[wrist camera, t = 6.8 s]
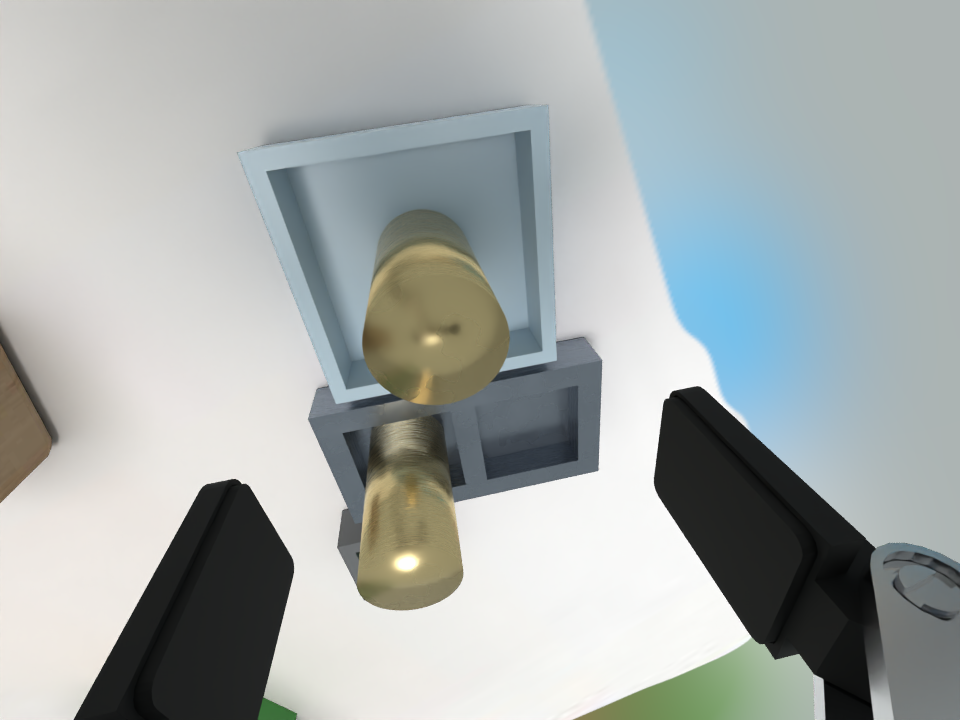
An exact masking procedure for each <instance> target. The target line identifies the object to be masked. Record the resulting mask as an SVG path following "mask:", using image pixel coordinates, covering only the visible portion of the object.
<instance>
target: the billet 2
mask: <svg viewBox="0 0 960 720" xmlns="http://www.w3.org/2000/svg"><path fill="white" fill-rule="evenodd" d="M462 578H463V566H462V559H461V551H460V544H459V536H458V529H457V522H456V514H455V507H454V500H453V492H452V485H451V477H450V470H449V463H448V455H447V448H446V440H445V433H444V430H443V427H442V425H441V424H440V423H439V422H438V421H437V420H436V419H435V418H434V417H432V416H431V415H429V416H424V417H419V418H414V419H409V420H405V421H400V422H395V423H390V424H385V425H380V426H375V427H374V428H373V430H372V432H371V436H370V446H369V457H368V468H367V479H366V490H365V501H364V512H363V522H362V533H361V544H360V555H359V566H358V577H357V589H358V591H359V593H360V595H361V596H362V597H363V598H364V599H365V600H366V601H367V602H369V603H370V604H372V605H375V606H377V607H380V608H384V609H389V610H413V609H419V608H423V607H427V606H430V605H433V604H435V603H438V602H440V601H442V600H443V599H445V598H447V597H448V596H450V595H451V594H452V593H453V592H454V591H455V590H456V589H457V588H458V586H459V585H460V583H461V581H462Z"/></svg>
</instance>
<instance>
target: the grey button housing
mask: <svg viewBox="0 0 960 720" xmlns="http://www.w3.org/2000/svg"><path fill="white" fill-rule="evenodd" d="M361 533H362V523H357V524H355V522H354V520H353V518H352V516H351V513H350V511H349V509H347V510H343V511H342V518H341V525H340V532H339V539H338V546H337V548H338V550H339V552H340V554H341V556H342V558H343V560H344V562H345V564H346V566H347V568H348V570H349V572H350V574H351V575H352V577H353V579H354V581H355V583H356V585H357V577H358V566H359V555H360V544H361ZM363 599H364V598H363ZM364 600H365V599H364Z"/></svg>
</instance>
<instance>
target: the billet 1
mask: <svg viewBox="0 0 960 720" xmlns="http://www.w3.org/2000/svg"><path fill="white" fill-rule="evenodd" d="M509 342H510V335H509V327H508V323H507V320H506V317H505V314H504V312H503V310H502V309H501V307H500V305H499V303H498V301H497V299H496V297H495V295H494V293H493V291H492V289H491V287H490V285H489V283H488V281H487V279H486V277H485V275H484V273H483V271H482V269H481V267H480V265H479V263H478V261H477V259H476V257H475V255H474V253H473V251H472V249H471V247H470V245H469V243H468V241H467V239H466V237H465V235H464V233H463V231H462V230H461V228H460V227H459V226H458V225H457V224H456V223H455V222H454V221H453V220H452V219H450V218H449V217H447V216H446V215H444V214H442V213H440V212H436V211H433V210H427V209H418V210H412V211H408V212H405V213H403V214H401V215H399V216H397V217H396V218H394V219H393V220H392V221H391V222H390V223H389V224H388V225H387V226H386V227H385V229H384V230H383V232H382V234H381V236H380V238H379V241H378V246H377V251H376V257H375V263H374V269H373V275H372V281H371V287H370V293H369V299H368V305H367V311H366V317H365V323H364V329H363V335H362V349H363V355H364V359H365V362H366V364H367V367H368V369H369V371H370V372H371V374H372V376H373V377H374V378H375V379H376V381H377V382H378V383H379V384H380V385H381V386H382V387H383V388H385V389H386V390H387V391H389V392H390V393H392V394H393V395H395V396H397V397H399V398H401V399H404V400H406V401H409V402H413V403H417V404H423V405H443V404H450V403H454V402H458V401H461V400H463V399H466V398H468V397H470V396H472V395H474V394H476V393H477V392H479V391H480V390H482V389H483V388H484V387H486V386H487V385H488V384H489V383H490V382H491V381H492V380H493V379H494V378H495V377H496V375H497V374H498V373H499V371H500V369H501V368H502V366H503V364H504V362H505V359H506V357H507V353H508V350H509Z"/></svg>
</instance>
